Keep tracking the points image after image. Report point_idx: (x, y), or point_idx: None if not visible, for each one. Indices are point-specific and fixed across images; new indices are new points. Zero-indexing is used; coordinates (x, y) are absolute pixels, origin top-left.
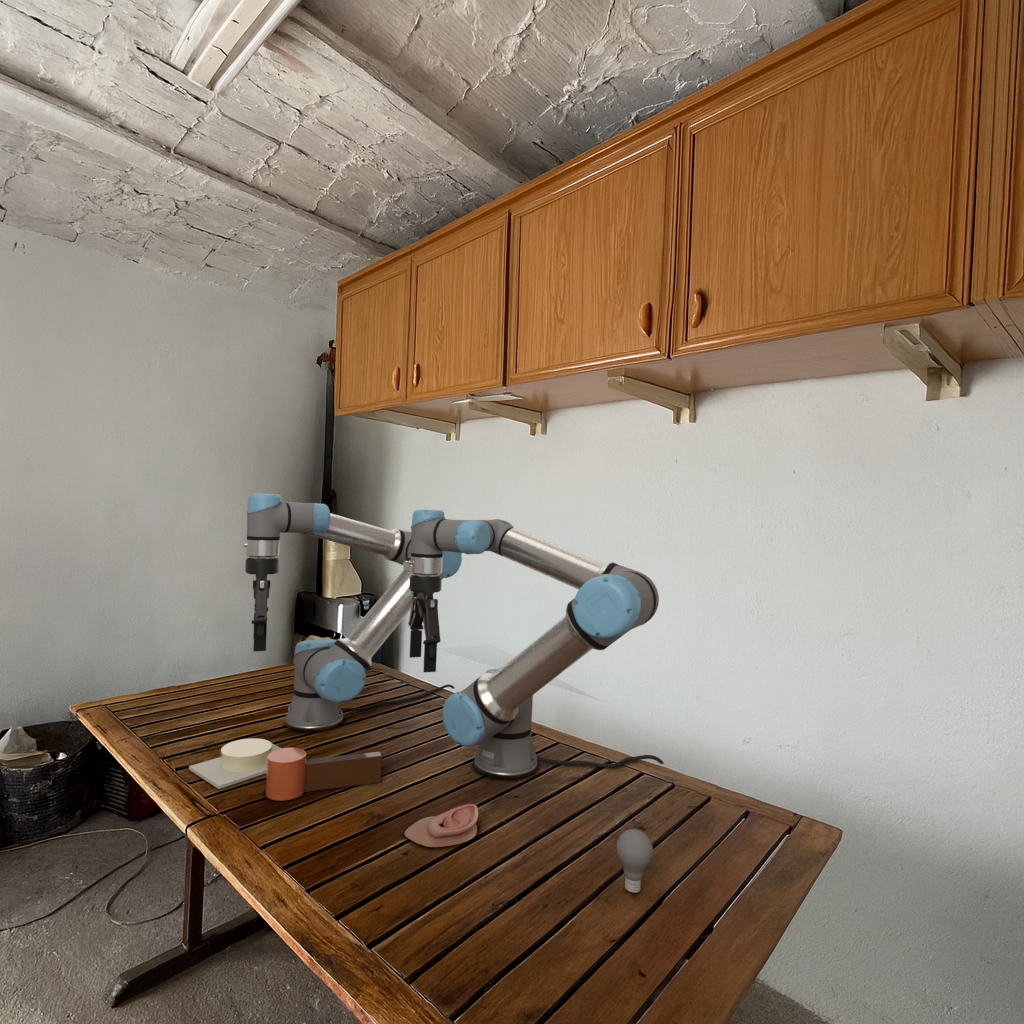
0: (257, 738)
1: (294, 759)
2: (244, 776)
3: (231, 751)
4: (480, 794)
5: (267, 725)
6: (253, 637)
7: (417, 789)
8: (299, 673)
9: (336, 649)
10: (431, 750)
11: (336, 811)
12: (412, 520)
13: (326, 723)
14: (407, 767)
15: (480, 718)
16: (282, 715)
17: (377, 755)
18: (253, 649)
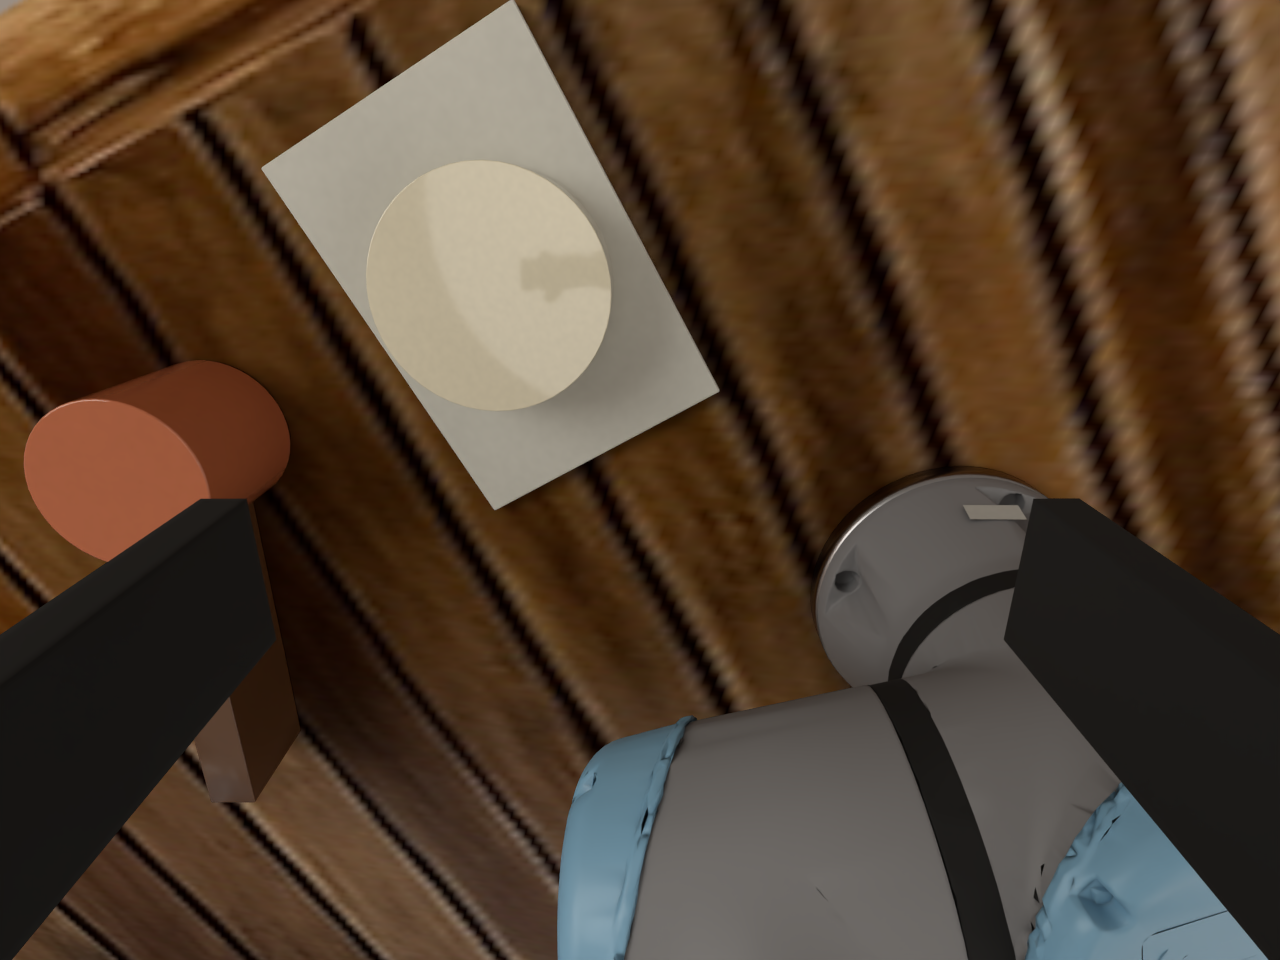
0: (598, 345)
1: (58, 515)
2: (342, 278)
3: (446, 216)
4: (150, 943)
5: (996, 383)
6: (1044, 507)
7: (198, 813)
8: (1003, 676)
9: None
10: (501, 904)
11: (52, 581)
12: None
13: (822, 640)
14: (372, 819)
15: None
16: (1112, 457)
17: (215, 791)
18: (186, 510)
